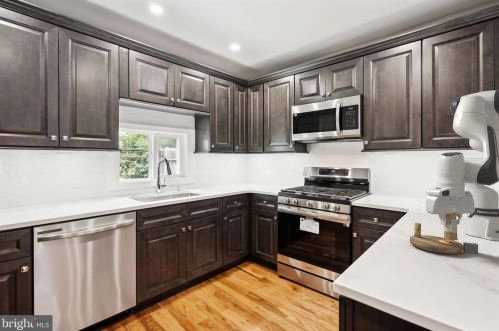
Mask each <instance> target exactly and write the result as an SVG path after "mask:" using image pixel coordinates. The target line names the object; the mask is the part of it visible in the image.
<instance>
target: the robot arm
mask: <svg viewBox="0 0 499 331" xmlns="http://www.w3.org/2000/svg"><path fill="white" fill-rule="evenodd" d="M449 109H450V113H451V115H452V116H453V122H452V129H453V131H454V132H455V133H456V135H458V136H460V137H462V138H465V139H469V147H470V148H472V149H473V150H475V151H478V152H480V153H483V157H479V158H478V157H472V158H471V157H466V158H465V157H464V153H463V152H461V151H450V152H449V151H448V152H444V153H441V154H440V155H439V158H438V162H437V163H438V164H437V176H438V181H437V185H436V186H434V187H431V188H428V189H427V190H426V195H427V196H426V198H425V211H426V213H428V214H430V215H437V216H438V218H439V219H440V224H441V226H442V225H443V226H444V225H447V224H448V221H447V220H446V219H445V217H446V214H452V213H453V212H452V210H453V208H456V211H457V212H454V213H456V216H457V226H458V225H460V224H461V223H460V222H461V220H462V218H463V214H466V216H467V221H466V225H465V229H464V231H463V233H464V234H466V235H468V236H471V237H476V238H482V239H485V240H490V241H497V242H498V241H499V193H498V191H497V190H495V189H493V188H491V187H490V186H493V185H495V184H497V183H499V88H498V89H496V90H485V91H479V92H475V93H474V92H473V93H470V94H466V95H460V96H458V97H455V98H454V99H452V101H451V102H450V105H449ZM465 188H466V189H465Z"/></svg>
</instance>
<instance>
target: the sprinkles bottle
mask: <svg viewBox="0 0 499 331" xmlns="http://www.w3.org/2000/svg"><path fill="white" fill-rule="evenodd" d="M452 212H453V213H452V214H446V217H445V219H446V220H447V221H448V224H447V225H443V238H445V239H447V240H454V241H458V240H459V238H458V225H457V216H456V213H454V212H457V211H456V208H453V210H452Z"/></svg>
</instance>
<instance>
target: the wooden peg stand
mask: <svg viewBox="0 0 499 331" xmlns="http://www.w3.org/2000/svg"><path fill="white" fill-rule="evenodd" d="M413 234H414V235H410V237H409V243H410V244H411V245H412V246H414V247H415V248H419V249H421V250H425V251H429V252H433V253H434V252H435V253H440V254H452V255H453V254H455V255H456V254H462V253H463V252H464V251H463V243H461V242H459V241H458V240H447V239H445V238H444V237H441V236H435V235H427V234H422V224H421V223H420V222H414V232H413Z"/></svg>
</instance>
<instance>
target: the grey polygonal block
mask: <svg viewBox="0 0 499 331" xmlns="http://www.w3.org/2000/svg"><path fill="white" fill-rule="evenodd" d="M462 245H463V252H464V253H469V254H477V255H478V254H479V243H474V242H463V243H462Z"/></svg>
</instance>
